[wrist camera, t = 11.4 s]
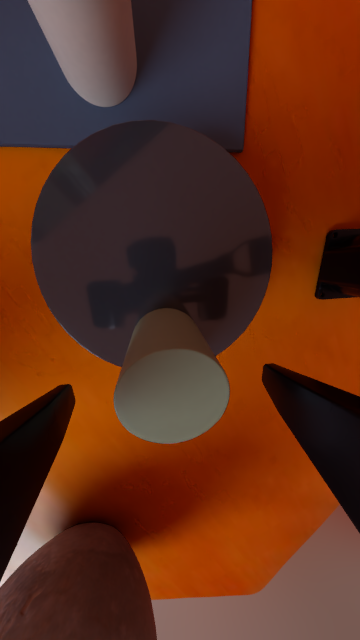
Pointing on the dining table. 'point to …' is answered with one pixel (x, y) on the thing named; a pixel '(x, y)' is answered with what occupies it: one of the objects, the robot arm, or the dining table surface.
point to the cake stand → (150, 236)
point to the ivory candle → (92, 45)
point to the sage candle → (170, 380)
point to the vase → (78, 590)
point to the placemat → (151, 77)
